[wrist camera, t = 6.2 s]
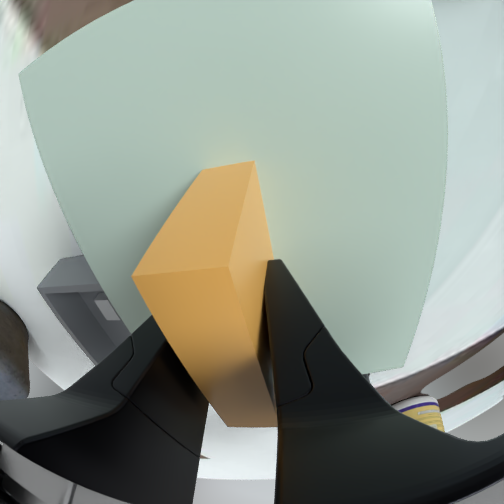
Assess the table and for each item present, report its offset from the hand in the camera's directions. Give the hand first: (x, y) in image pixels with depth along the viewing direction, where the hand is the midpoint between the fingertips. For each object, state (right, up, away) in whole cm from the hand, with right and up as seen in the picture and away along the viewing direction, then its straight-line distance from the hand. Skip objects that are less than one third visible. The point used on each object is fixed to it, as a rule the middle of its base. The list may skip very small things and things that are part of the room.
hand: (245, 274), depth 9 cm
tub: (-13, -7, +22) cm, 26 cm away
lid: (0, +2, +3) cm, 3 cm away
